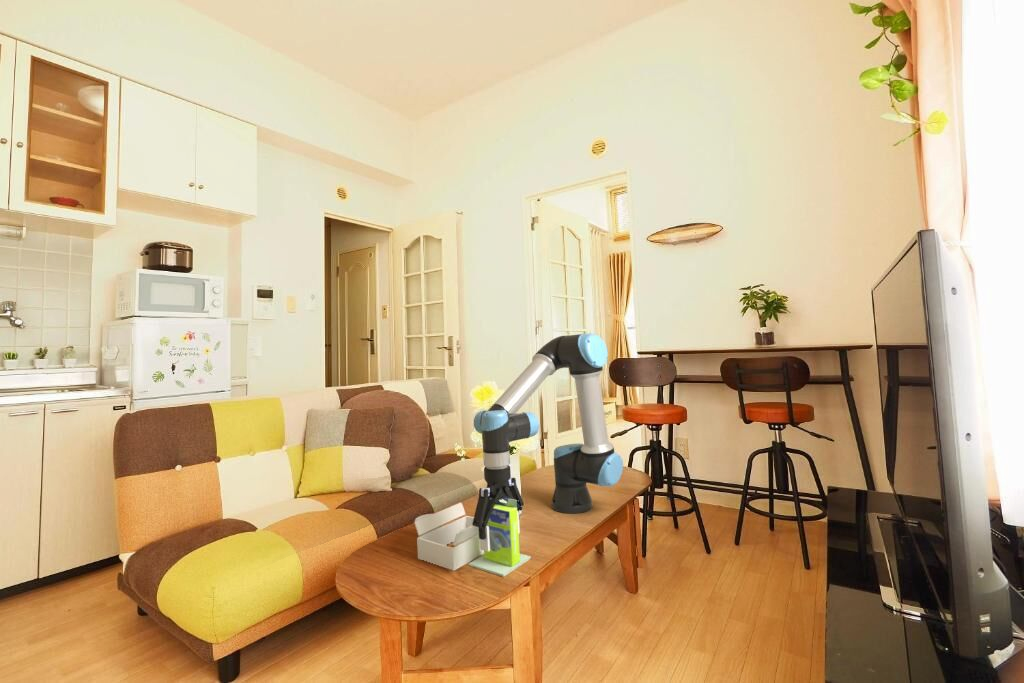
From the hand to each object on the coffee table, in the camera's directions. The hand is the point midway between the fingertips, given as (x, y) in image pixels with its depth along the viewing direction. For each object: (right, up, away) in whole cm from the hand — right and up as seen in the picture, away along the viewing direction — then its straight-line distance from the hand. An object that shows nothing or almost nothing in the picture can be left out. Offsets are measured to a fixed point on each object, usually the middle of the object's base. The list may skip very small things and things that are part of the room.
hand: (501, 541), depth 131 cm
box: (0, -6, 0) cm, 6 cm away
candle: (-24, -8, +21) cm, 33 cm away
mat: (0, -6, 0) cm, 6 cm away
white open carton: (-12, -7, +9) cm, 17 cm away
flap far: (-18, -1, +14) cm, 23 cm away
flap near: (-7, 0, +5) cm, 9 cm away
